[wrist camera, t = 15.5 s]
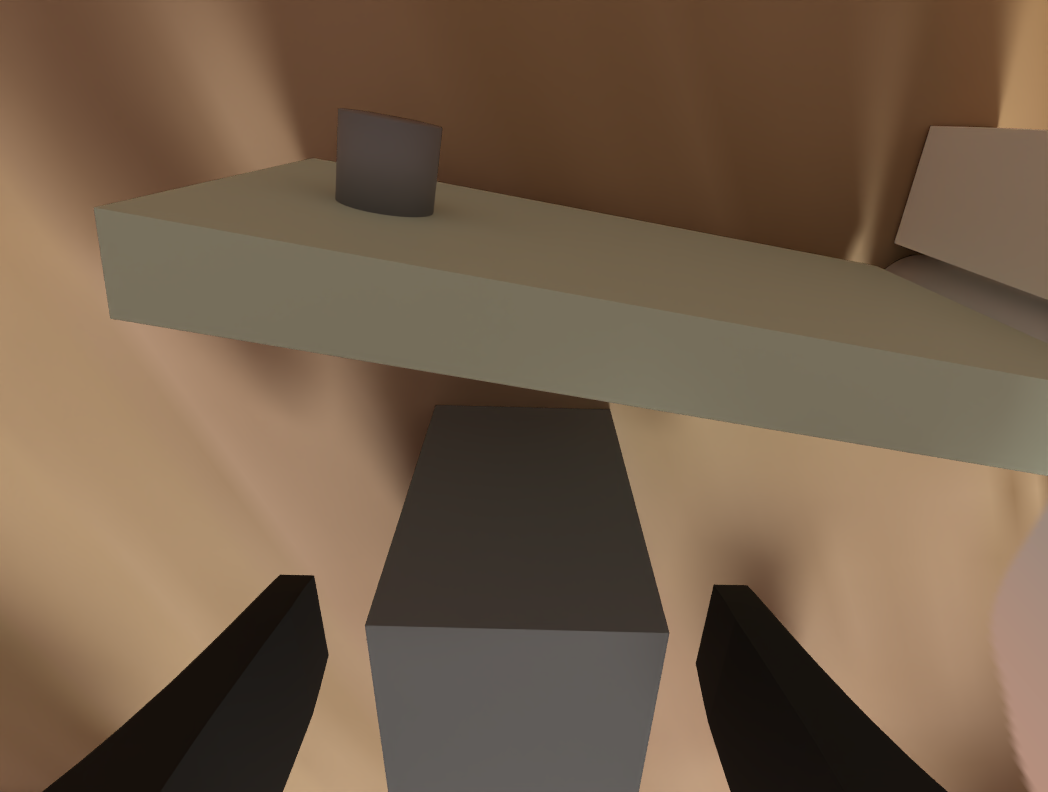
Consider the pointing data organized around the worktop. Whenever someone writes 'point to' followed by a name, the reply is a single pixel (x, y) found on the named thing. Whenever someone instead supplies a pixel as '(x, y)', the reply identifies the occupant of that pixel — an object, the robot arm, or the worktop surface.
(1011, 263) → the wall frame
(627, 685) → the grey block
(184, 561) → the worktop surface
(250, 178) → the door
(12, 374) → the worktop surface
